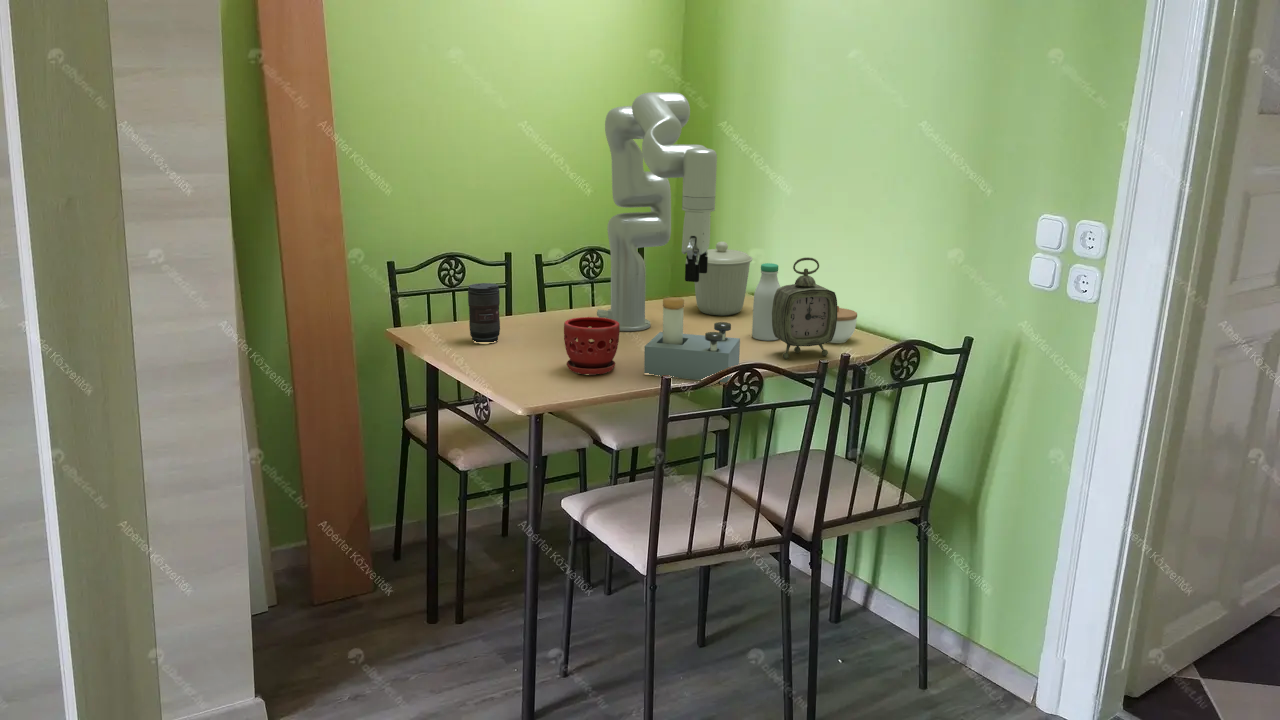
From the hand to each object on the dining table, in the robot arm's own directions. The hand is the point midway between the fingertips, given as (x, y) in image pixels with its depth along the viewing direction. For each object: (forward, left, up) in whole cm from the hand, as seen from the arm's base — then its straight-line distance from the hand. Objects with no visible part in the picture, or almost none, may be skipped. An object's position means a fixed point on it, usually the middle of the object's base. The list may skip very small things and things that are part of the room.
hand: (696, 277), depth 233 cm
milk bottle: (+12, +36, -23) cm, 44 cm away
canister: (-6, +61, -23) cm, 65 cm away
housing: (0, 0, -23) cm, 23 cm away
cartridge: (-5, 0, -20) cm, 20 cm away
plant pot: (-23, -7, -23) cm, 34 cm away
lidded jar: (+30, +39, -23) cm, 54 cm away
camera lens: (-58, +9, -23) cm, 63 cm away
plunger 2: (+6, +5, -19) cm, 21 cm away
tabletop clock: (+23, +22, -23) cm, 39 cm away
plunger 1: (+6, -5, -19) cm, 21 cm away
